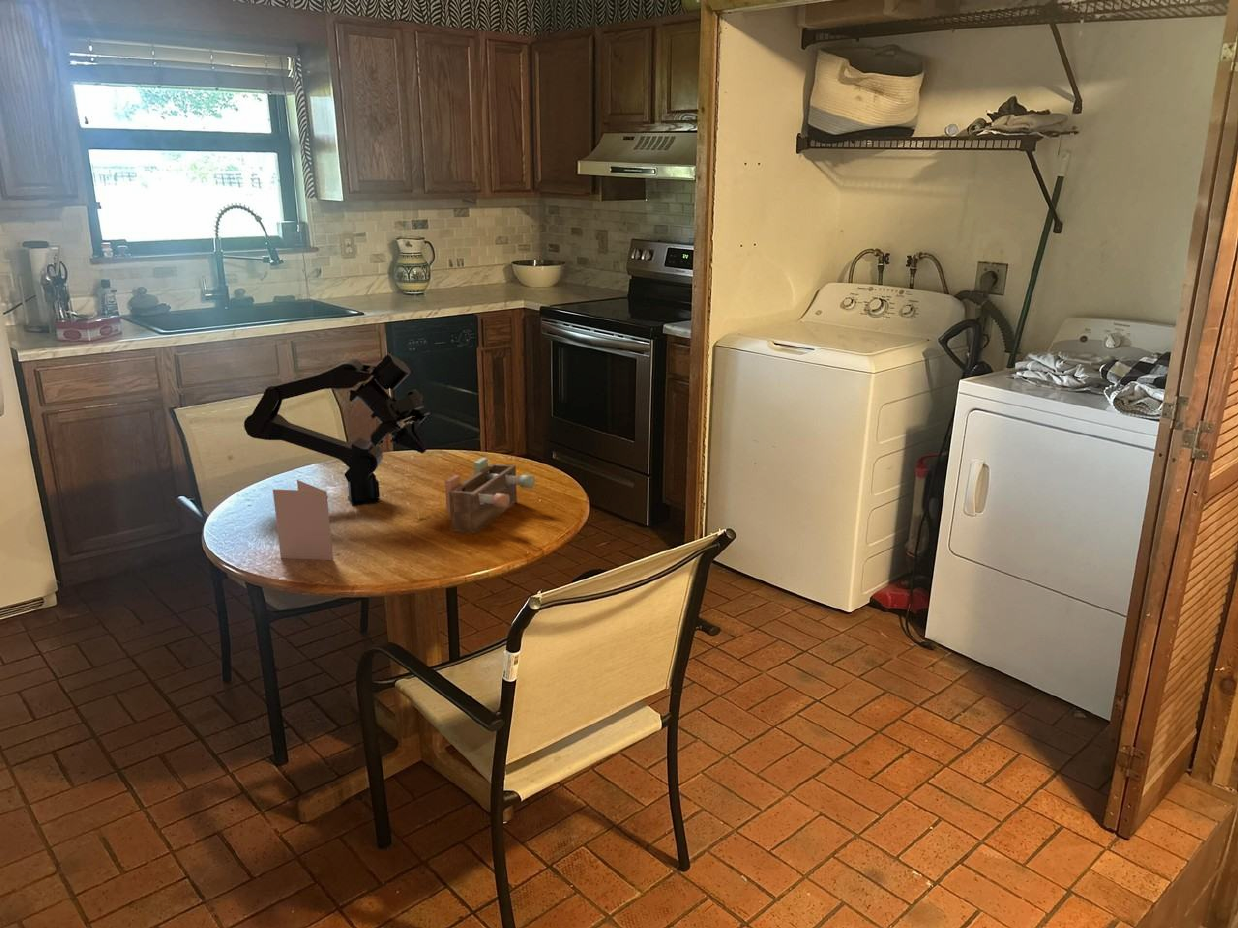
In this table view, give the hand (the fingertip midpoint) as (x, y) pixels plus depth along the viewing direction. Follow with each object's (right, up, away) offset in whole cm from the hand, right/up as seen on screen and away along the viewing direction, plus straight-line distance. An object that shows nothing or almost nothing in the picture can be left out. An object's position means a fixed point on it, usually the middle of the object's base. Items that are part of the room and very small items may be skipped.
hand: (424, 451), depth 217 cm
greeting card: (-19, -22, -25) cm, 39 cm away
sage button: (+19, -10, +3) cm, 22 cm away
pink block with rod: (+14, -14, -10) cm, 23 cm away
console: (+15, -15, -2) cm, 21 cm away
